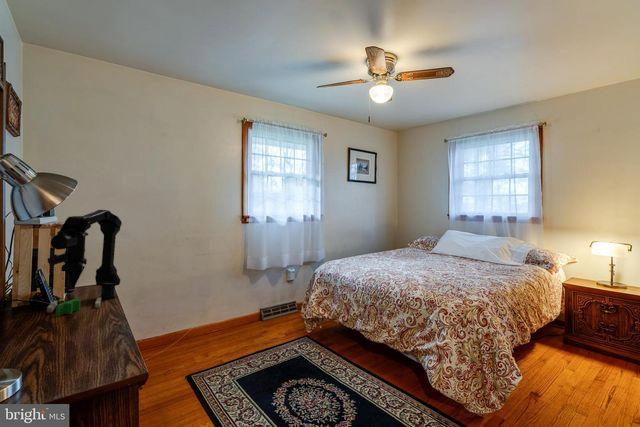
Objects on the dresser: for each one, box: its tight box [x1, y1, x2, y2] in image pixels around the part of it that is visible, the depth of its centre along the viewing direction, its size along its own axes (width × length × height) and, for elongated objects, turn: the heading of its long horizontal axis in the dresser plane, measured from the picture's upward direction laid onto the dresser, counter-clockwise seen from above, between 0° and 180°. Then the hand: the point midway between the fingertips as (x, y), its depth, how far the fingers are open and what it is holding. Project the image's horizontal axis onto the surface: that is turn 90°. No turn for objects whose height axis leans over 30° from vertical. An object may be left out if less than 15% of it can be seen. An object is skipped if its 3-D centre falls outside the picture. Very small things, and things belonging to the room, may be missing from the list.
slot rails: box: [46, 296, 102, 314], centre depth 134 cm, size 12×18×2 cm
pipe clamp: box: [55, 297, 82, 317], centre depth 127 cm, size 11×4×5 cm, turn 3°
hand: (73, 285), depth 124 cm, fingers open, 2 cm apart
